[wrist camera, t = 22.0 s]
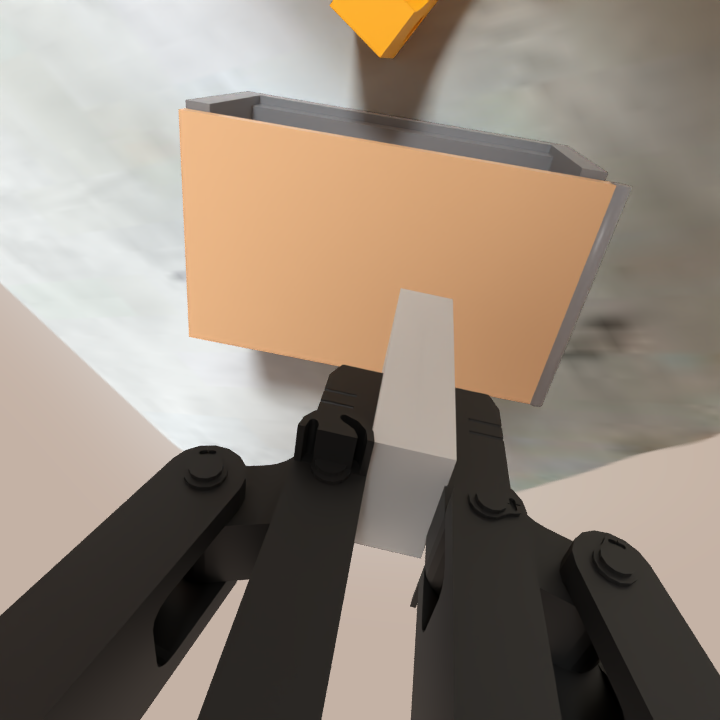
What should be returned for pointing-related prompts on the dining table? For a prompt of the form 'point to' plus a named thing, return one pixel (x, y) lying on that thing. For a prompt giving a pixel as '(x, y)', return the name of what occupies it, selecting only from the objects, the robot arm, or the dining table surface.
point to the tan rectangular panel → (385, 248)
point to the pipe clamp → (383, 21)
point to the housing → (401, 132)
